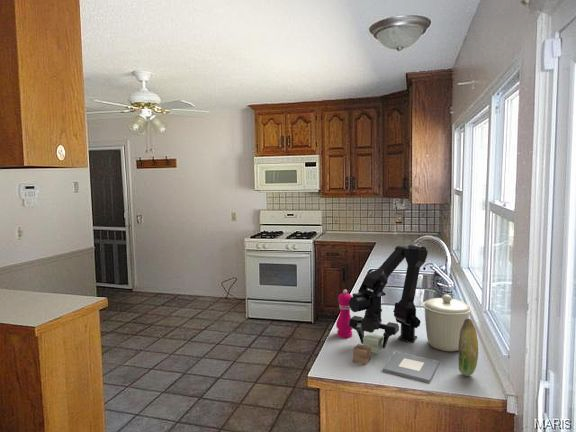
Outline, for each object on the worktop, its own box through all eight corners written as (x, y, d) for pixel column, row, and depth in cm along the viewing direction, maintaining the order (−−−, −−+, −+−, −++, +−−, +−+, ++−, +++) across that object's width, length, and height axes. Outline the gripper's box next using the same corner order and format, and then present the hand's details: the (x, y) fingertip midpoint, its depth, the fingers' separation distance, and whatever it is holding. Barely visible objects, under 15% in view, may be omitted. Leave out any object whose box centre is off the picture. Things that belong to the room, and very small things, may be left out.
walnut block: (358, 356, 154) (358, 344, 153) (370, 359, 151) (370, 346, 151) (352, 362, 150) (353, 349, 149) (366, 365, 147) (366, 352, 146)
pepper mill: (340, 339, 170) (340, 292, 168) (333, 333, 177) (333, 288, 175) (356, 337, 172) (356, 291, 170) (349, 331, 179) (349, 286, 177)
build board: (395, 353, 156) (395, 351, 156) (439, 363, 148) (439, 360, 148) (382, 371, 142) (382, 368, 142) (429, 382, 134) (429, 379, 134)
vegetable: (479, 375, 139) (482, 318, 137) (473, 383, 134) (476, 324, 132) (461, 370, 143) (463, 314, 141) (454, 376, 138) (457, 319, 136)
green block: (368, 344, 165) (368, 332, 164) (382, 348, 162) (383, 335, 161) (362, 350, 160) (363, 338, 159) (377, 353, 156) (378, 341, 156)
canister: (466, 339, 169) (468, 290, 167) (473, 358, 152) (476, 303, 149) (420, 335, 174) (421, 287, 172) (422, 353, 156) (424, 299, 154)
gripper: (343, 309, 157) (342, 348, 158) (391, 317, 147) (390, 359, 149) (354, 301, 166) (353, 338, 168) (399, 309, 157) (398, 348, 158)
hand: (373, 346), depth 160 cm, fingers open, 8 cm apart
